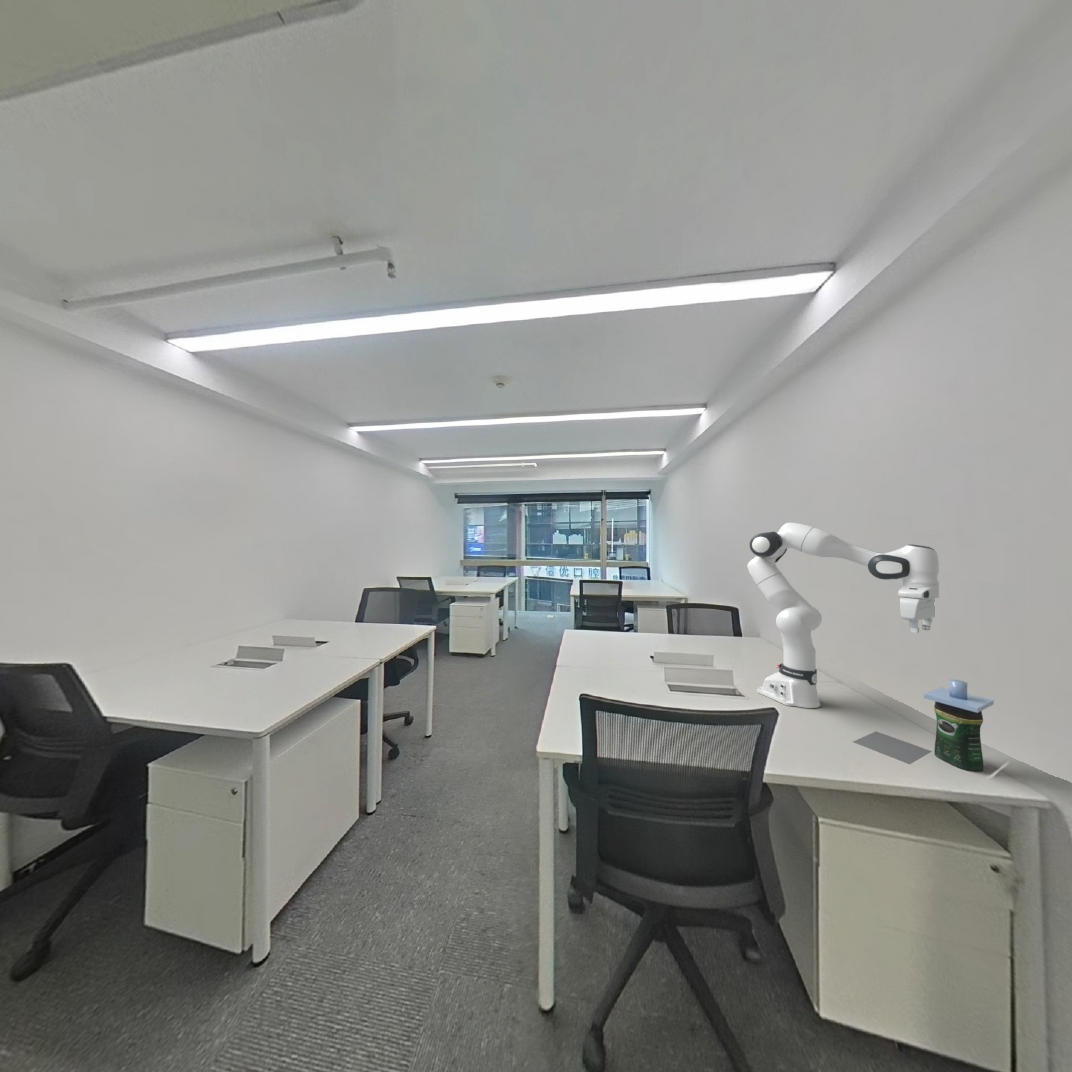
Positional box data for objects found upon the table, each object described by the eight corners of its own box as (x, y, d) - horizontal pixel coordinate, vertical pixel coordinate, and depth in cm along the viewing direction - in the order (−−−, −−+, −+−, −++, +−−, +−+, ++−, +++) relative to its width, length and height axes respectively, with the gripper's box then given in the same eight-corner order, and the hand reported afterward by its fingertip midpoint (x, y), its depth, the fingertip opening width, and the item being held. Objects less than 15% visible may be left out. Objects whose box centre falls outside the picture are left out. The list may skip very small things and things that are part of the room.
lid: (923, 698, 116) (924, 678, 116) (941, 691, 122) (941, 672, 122) (977, 712, 107) (977, 691, 107) (993, 704, 112) (993, 684, 113)
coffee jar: (990, 773, 110) (990, 707, 110) (964, 773, 109) (964, 708, 109) (952, 754, 119) (952, 694, 119) (928, 754, 119) (928, 694, 119)
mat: (852, 743, 125) (852, 741, 125) (875, 732, 132) (875, 731, 132) (909, 765, 113) (909, 764, 113) (931, 752, 120) (931, 751, 120)
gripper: (920, 589, 141) (920, 626, 141) (895, 591, 131) (895, 632, 131) (945, 591, 135) (945, 630, 135) (920, 593, 126) (920, 636, 126)
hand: (920, 631), depth 133 cm, fingers open, 8 cm apart
